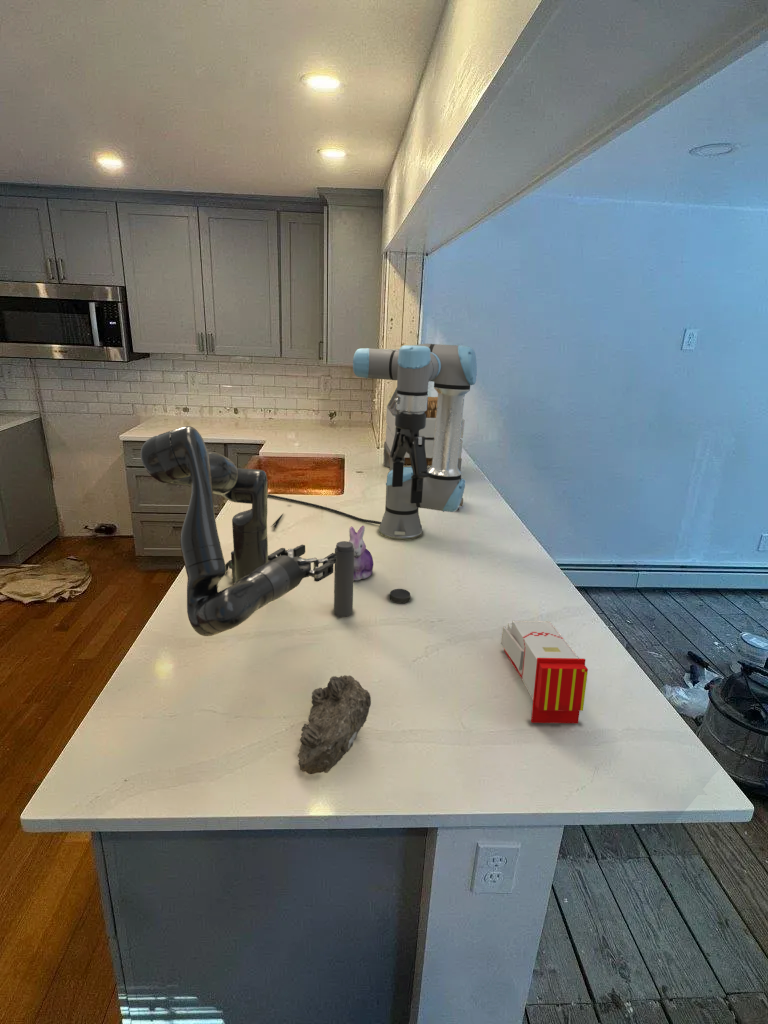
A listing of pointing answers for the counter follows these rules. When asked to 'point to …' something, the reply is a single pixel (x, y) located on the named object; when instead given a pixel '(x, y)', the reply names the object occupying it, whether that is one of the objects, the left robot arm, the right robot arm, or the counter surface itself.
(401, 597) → the lid
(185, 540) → the left robot arm
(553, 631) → the toy
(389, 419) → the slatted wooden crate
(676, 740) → the counter surface
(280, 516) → the dark tapered rod
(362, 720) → the fossil
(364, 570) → the figurine
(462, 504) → the figurine character
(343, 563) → the dark grey cylinder
